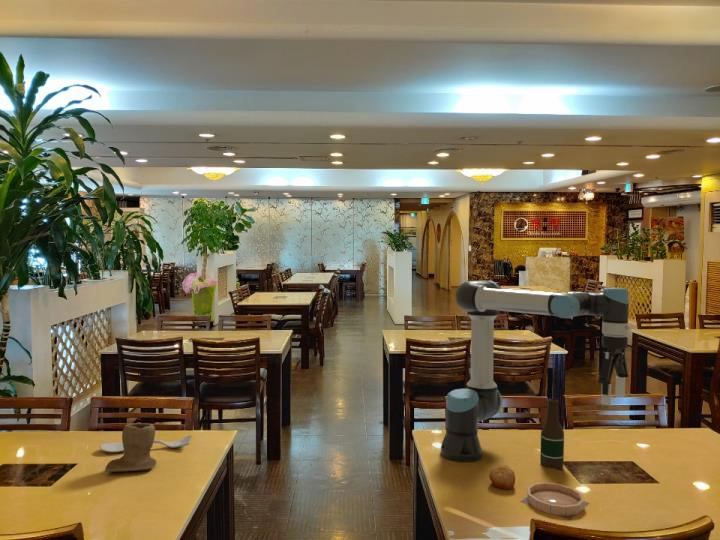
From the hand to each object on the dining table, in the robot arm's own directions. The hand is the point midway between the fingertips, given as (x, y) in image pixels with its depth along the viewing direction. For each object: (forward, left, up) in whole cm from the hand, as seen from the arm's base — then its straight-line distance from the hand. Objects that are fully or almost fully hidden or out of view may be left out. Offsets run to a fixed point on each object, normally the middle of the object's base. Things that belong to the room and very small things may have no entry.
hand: (613, 400), depth 169 cm
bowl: (-7, -28, -27) cm, 39 cm away
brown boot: (-121, -105, -28) cm, 162 cm away
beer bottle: (-20, 0, -28) cm, 34 cm away
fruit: (-24, -28, -28) cm, 46 cm away
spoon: (-135, -94, -28) cm, 167 cm away
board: (-7, -28, -28) cm, 40 cm away
